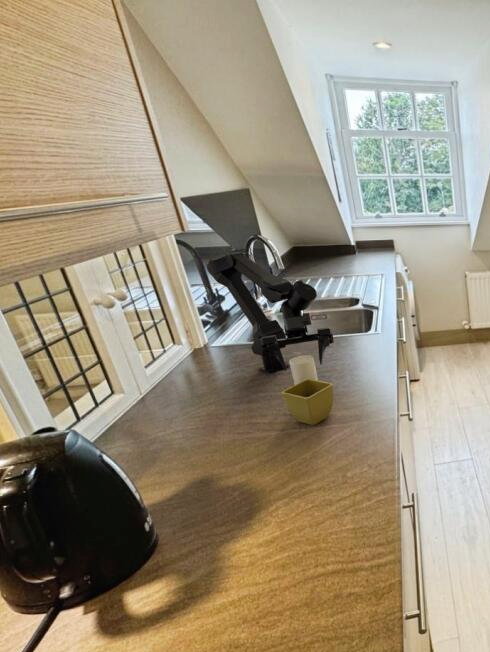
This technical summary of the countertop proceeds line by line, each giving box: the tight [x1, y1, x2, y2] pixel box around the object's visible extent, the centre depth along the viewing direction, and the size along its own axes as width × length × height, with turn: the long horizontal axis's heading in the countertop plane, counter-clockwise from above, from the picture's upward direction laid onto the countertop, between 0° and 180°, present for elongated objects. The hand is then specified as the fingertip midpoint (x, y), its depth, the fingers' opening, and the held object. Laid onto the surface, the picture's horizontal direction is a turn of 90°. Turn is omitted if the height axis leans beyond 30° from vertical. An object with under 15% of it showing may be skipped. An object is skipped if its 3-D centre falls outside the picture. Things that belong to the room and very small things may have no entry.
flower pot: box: [281, 379, 334, 426], centre depth 113 cm, size 9×9×9 cm
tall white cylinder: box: [288, 354, 319, 386], centre depth 121 cm, size 6×6×13 cm
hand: (303, 366), depth 126 cm, fingers open, 9 cm apart
